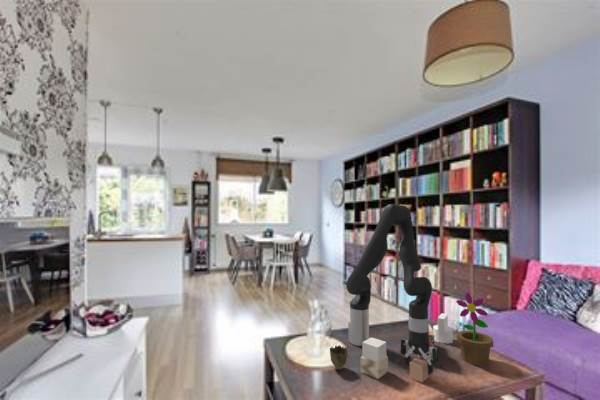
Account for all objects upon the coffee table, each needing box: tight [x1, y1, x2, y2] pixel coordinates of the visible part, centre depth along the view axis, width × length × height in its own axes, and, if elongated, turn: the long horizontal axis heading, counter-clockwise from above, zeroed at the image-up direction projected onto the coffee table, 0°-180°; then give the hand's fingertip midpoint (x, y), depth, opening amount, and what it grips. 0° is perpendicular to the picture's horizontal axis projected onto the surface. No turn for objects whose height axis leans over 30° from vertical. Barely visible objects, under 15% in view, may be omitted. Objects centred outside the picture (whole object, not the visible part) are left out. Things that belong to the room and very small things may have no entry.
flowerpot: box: [455, 292, 494, 367], centre depth 139 cm, size 14×14×30 cm
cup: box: [329, 345, 348, 371], centre depth 132 cm, size 8×7×8 cm
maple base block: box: [359, 355, 389, 380], centre depth 129 cm, size 8×8×6 cm
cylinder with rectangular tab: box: [432, 313, 454, 345], centre depth 161 cm, size 9×9×12 cm
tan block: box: [409, 357, 428, 383], centre depth 125 cm, size 5×5×6 cm
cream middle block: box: [361, 337, 387, 363], centre depth 129 cm, size 7×7×6 cm
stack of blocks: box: [417, 324, 435, 363], centre depth 147 cm, size 21×6×12 cm, turn 165°
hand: (419, 369), depth 124 cm, fingers open, 8 cm apart
